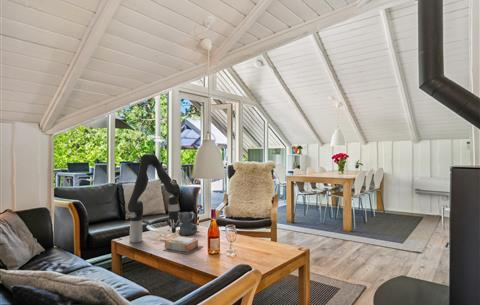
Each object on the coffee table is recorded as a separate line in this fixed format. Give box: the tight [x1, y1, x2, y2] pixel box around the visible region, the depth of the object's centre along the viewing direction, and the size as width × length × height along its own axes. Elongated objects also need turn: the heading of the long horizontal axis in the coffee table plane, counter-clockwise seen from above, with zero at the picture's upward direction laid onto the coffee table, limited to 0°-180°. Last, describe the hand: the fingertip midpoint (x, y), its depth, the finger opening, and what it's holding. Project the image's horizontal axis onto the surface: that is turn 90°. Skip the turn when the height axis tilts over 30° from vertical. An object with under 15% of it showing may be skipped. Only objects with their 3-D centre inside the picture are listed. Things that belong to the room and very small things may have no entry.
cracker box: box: [164, 236, 199, 252], centre depth 229 cm, size 14×6×21 cm
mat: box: [163, 245, 204, 256], centre depth 228 cm, size 22×20×1 cm
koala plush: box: [177, 211, 198, 236], centre depth 273 cm, size 17×18×20 cm
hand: (173, 232), depth 232 cm, fingers closed
